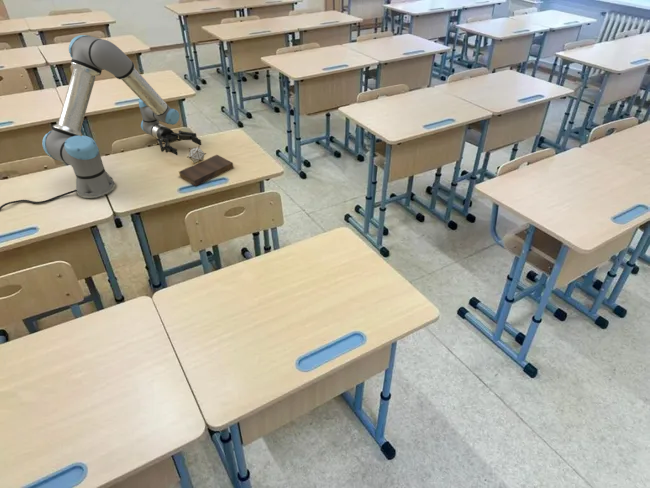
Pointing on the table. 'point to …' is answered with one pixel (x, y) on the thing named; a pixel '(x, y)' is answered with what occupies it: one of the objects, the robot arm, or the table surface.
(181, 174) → the walnut board
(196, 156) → the grey spiked polyhedron
